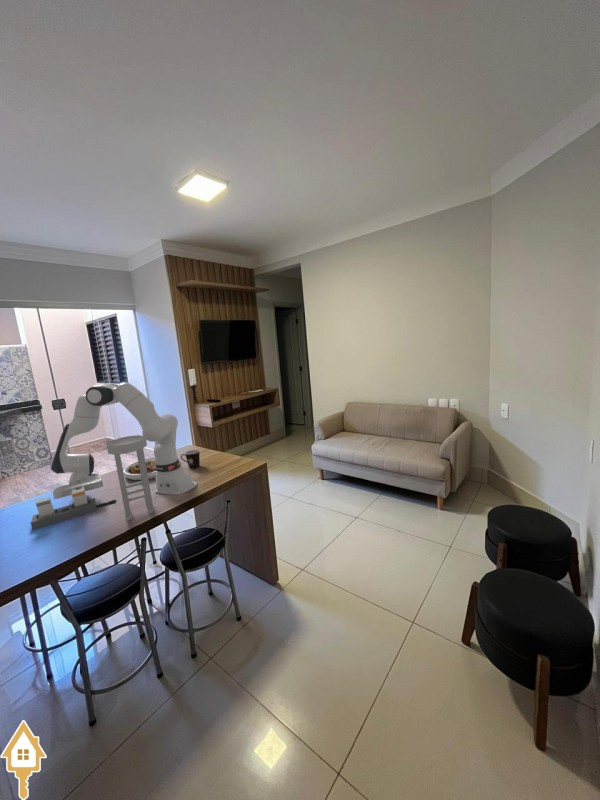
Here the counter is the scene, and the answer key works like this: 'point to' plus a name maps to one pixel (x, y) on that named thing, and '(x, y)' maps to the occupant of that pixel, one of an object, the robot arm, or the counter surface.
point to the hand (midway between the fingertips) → (78, 493)
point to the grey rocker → (44, 506)
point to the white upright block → (79, 497)
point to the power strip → (65, 513)
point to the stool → (137, 445)
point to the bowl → (134, 471)
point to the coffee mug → (192, 459)
